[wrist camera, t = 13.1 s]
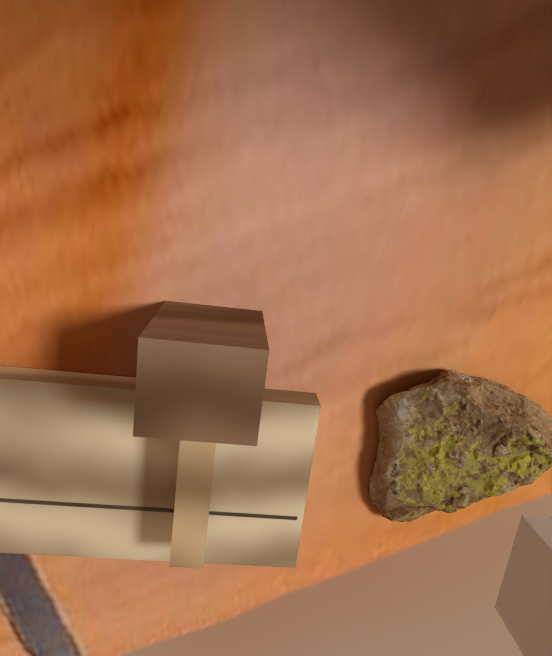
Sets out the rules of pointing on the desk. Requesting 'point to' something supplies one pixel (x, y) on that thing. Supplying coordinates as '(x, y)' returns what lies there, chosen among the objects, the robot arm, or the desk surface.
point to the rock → (455, 445)
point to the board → (141, 474)
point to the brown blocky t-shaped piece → (199, 401)
